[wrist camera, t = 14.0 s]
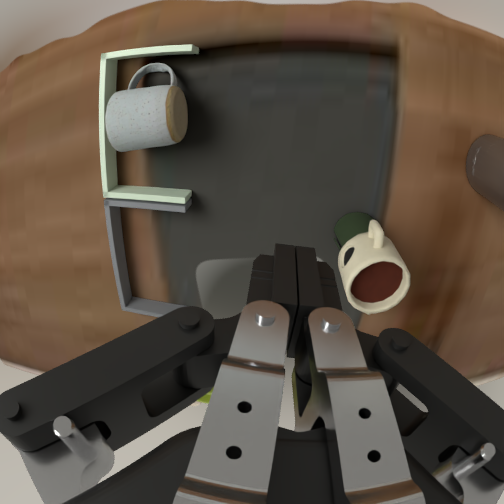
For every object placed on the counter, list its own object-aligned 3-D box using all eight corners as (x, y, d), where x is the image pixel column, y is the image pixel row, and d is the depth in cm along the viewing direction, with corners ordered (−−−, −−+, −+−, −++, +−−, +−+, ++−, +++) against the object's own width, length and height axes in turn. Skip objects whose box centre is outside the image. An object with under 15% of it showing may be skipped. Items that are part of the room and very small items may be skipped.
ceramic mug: (193, 139, 36) (172, 149, 29) (135, 146, 36) (106, 158, 30) (187, 59, 31) (165, 51, 24) (128, 70, 31) (97, 68, 25)
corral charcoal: (191, 198, 40) (185, 206, 37) (193, 310, 49) (188, 322, 47) (113, 192, 40) (103, 200, 38) (128, 299, 50) (121, 309, 47)
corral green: (199, 47, 30) (192, 44, 27) (191, 195, 39) (185, 203, 37) (113, 55, 30) (101, 53, 27) (113, 190, 40) (103, 197, 37)
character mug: (330, 193, 38) (349, 240, 26) (382, 193, 37) (419, 238, 25) (328, 266, 43) (341, 329, 32) (375, 263, 42) (400, 324, 31)
